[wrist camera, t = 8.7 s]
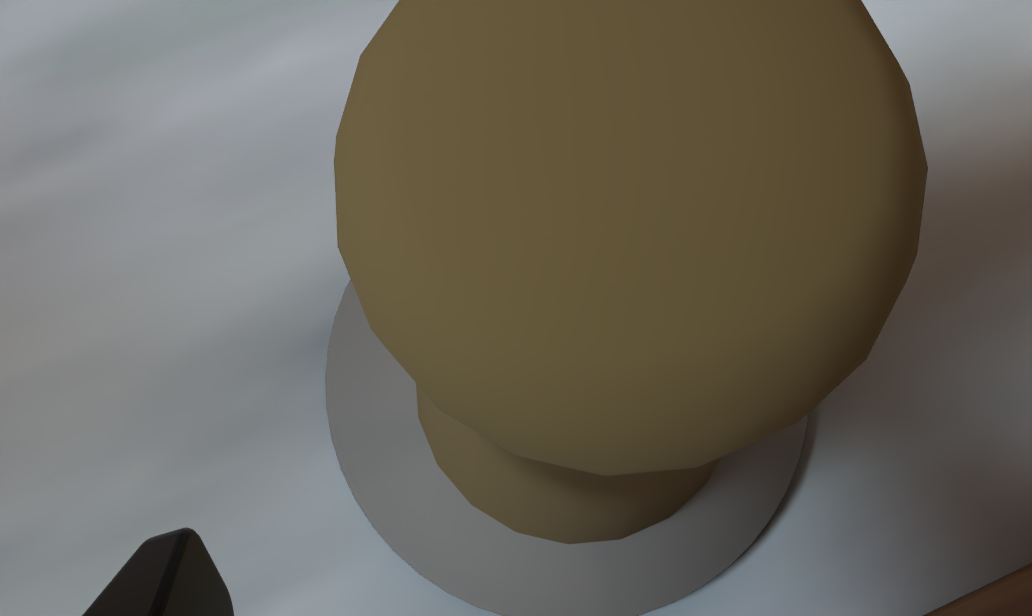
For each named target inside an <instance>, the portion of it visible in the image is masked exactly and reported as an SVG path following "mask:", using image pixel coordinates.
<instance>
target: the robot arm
mask: <svg viewBox="0 0 1032 616" xmlns="http://www.w3.org/2000/svg"><path fill="white" fill-rule="evenodd" d="M82 616H234V612H233V606H232V601H231V598H230V594H229V592H228V589H227V587H226V585H225V583H224V581H223V579H222V577H221V576H220V574H219V572H218V570H217V568H216V566H215V564H214V562H213V560H212V559H211V557H210V555H209V553H208V551H207V549H206V547H205V545H204V543H203V542H202V540H201V538H200V536H199V535H198V534H197V533H196V532H195V531H194V530H193V529H190V528H187V527H186V528H181V529H178V530H175V531H171V532H168V533H165V534H161V535H158V536H155V537H152V538H149V539H147V540H146V541H145V542H144V543H143V544H142V545H141V546H140V547H139V548H138V549H137V550H136V552H135V553H134V554H133V555H132V556H131V558H130V559H129V560H128V561H127V563H126V564H125V565H124V566H123V567H122V569H121V570H120V571H119V572H118V573H117V575H116V576H115V577H114V578H113V579H112V581H111V582H110V583H109V584H108V585H107V587H106V588H105V589H104V590H103V591H102V593H101V594H100V595H99V596H98V597H97V599H96V600H95V601H94V602H93V603H92V605H91V606H90V607H89V608H88V609H87V611H86V612H85V613H84V614H83V615H82Z"/></svg>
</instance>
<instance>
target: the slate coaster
mask: <svg viewBox="0 0 1032 616" xmlns="http://www.w3.org/2000/svg"><path fill="white" fill-rule="evenodd" d="M325 379H326V406H327V414H328V420H329V425H330V431H331V437H332V441H333V445H334V448H335V451H336V454H337V457H338V461H339V464H340V467H341V470H342V472H343V474H344V476H345V479H346V481H347V483H348V485H349V487H350V489H351V491H352V494H353V496H354V498H355V500H356V501H357V503H358V504H359V506H360V507H361V509H362V511H363V512H364V514H365V515H366V517H367V518H368V520H369V521H370V523H371V525H372V526H373V527H374V529H375V530H376V531H377V532H378V533H379V534H380V536H381V537H382V538H383V539H384V540H385V541H386V543H387V544H388V545H389V546H390V547H391V548H392V550H393V551H394V552H395V553H396V554H398V555H399V556H400V557H401V558H402V559H403V560H404V561H405V562H407V563H408V564H409V565H410V566H411V567H412V568H413V569H414V570H416V571H417V572H418V573H419V574H420V575H422V576H423V577H425V578H426V579H428V580H429V581H431V582H432V583H434V584H435V585H437V586H438V587H440V588H441V589H443V590H444V591H446V592H447V593H449V594H451V595H453V596H456V597H458V598H460V599H462V600H464V601H466V602H468V603H470V604H472V605H474V606H476V607H479V608H482V609H485V610H488V611H491V612H494V613H497V614H500V615H503V616H638V615H642V614H645V613H647V612H650V611H652V610H655V609H658V608H660V607H663V606H665V605H668V604H671V603H673V602H675V601H677V600H679V599H680V598H682V597H684V596H686V595H688V594H689V593H691V592H693V591H695V590H697V589H698V588H700V587H702V586H704V585H705V584H706V583H708V582H709V581H710V580H712V579H713V578H714V577H715V576H717V575H718V574H719V573H721V572H722V571H723V570H725V569H726V568H727V567H729V566H730V565H731V564H732V563H733V562H734V561H735V560H736V559H737V558H738V557H739V556H740V555H741V554H742V553H743V552H744V551H745V550H746V549H747V548H748V547H749V546H750V545H751V544H752V543H753V541H754V540H755V539H756V538H757V536H758V535H759V534H760V532H761V531H762V530H763V528H764V527H765V526H766V524H767V523H768V522H769V520H770V519H771V518H772V516H773V514H774V513H775V511H776V509H777V507H778V505H779V504H780V502H781V500H782V498H783V496H784V495H785V493H786V491H787V489H788V487H789V484H790V482H791V479H792V476H793V474H794V471H795V469H796V466H797V464H798V461H799V458H800V454H801V450H802V446H803V441H804V437H805V433H806V429H807V420H808V414H807V415H806V416H805V417H803V418H802V419H801V420H800V421H799V422H798V423H796V424H794V425H792V426H790V427H788V428H785V429H783V430H781V431H779V432H777V433H774V434H772V435H770V436H768V437H765V438H763V439H761V440H758V441H756V442H754V443H752V444H749V445H747V446H745V447H743V448H740V449H738V450H736V451H734V452H731V453H729V454H727V455H724V456H722V457H721V458H720V460H719V462H718V464H717V466H716V467H715V469H714V471H713V473H712V475H711V477H710V479H709V480H708V482H707V483H706V484H705V485H704V486H703V487H702V488H701V489H700V490H699V491H698V492H697V493H696V494H695V495H693V496H692V497H691V498H690V499H689V500H688V501H687V502H686V503H685V504H684V505H683V506H682V507H680V508H679V509H678V510H677V511H676V512H675V513H674V514H673V515H672V516H671V517H670V518H668V519H666V520H664V521H661V522H659V523H657V524H655V525H652V526H650V527H648V528H646V529H643V530H641V531H639V532H637V533H634V534H632V535H630V536H628V537H625V538H623V539H621V540H610V541H600V542H589V543H578V544H564V543H560V542H555V541H551V540H547V539H542V538H538V537H534V536H530V535H525V534H521V533H517V532H515V531H513V530H511V529H510V528H508V527H507V526H505V525H503V524H502V523H500V522H498V521H497V520H495V519H494V518H492V517H490V516H489V515H487V514H485V513H484V512H482V511H480V510H479V509H477V508H476V507H474V506H472V505H471V504H470V503H469V502H468V501H467V499H466V498H465V497H464V496H463V495H462V493H461V492H460V491H459V490H458V489H457V488H456V486H455V485H454V484H453V483H452V482H451V480H450V479H449V478H448V477H447V476H446V475H445V473H444V472H443V471H442V470H441V469H440V467H439V466H438V465H437V463H436V460H435V458H434V455H433V453H432V450H431V448H430V445H429V443H428V440H427V438H426V436H425V433H424V431H423V428H422V426H421V423H420V421H419V418H418V407H417V391H416V382H415V381H414V380H413V379H412V378H411V376H410V375H409V374H408V373H407V372H406V371H405V369H404V368H403V367H402V366H401V365H400V364H399V362H398V361H397V360H396V359H395V358H394V357H393V355H392V354H391V353H390V352H389V351H388V350H387V348H386V347H385V346H384V345H383V344H382V343H381V341H380V340H379V339H378V337H377V336H376V335H375V334H374V332H373V331H372V330H371V328H370V326H369V323H368V321H367V318H366V316H365V313H364V311H363V308H362V306H361V303H360V301H359V298H358V296H357V293H356V291H355V288H354V286H353V283H352V281H351V280H350V282H349V283H348V285H347V287H346V289H345V292H344V295H343V297H342V300H341V303H340V305H339V308H338V311H337V313H336V316H335V320H334V324H333V329H332V333H331V337H330V342H329V346H328V356H327V366H326V377H325Z"/></svg>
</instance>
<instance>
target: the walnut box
mask: <svg viewBox="0 0 1032 616" xmlns="http://www.w3.org/2000/svg"><path fill="white" fill-rule="evenodd" d="M924 616H1032V564H1030V565H1027V566H1025V567H1023V568H1021V569H1019V570H1017V571H1015V572H1013V573H1011V574H1009V575H1007V576H1005V577H1003V578H1001V579H998V580H996V581H994V582H992V583H990V584H988V585H986V586H984V587H982V588H980V589H978V590H976V591H974V592H971V593H969V594H967V595H965V596H963V597H961V598H959V599H957V600H955V601H953V602H951V603H949V604H947V605H945V606H942V607H940V608H938V609H936V610H934V611H932V612H930V613H928V614H926V615H924Z"/></svg>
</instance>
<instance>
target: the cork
mask: <svg viewBox="0 0 1032 616" xmlns="http://www.w3.org/2000/svg"><path fill="white" fill-rule="evenodd" d="M334 169H335V192H336V215H337V238H338V248H339V250H340V253H341V255H342V258H343V260H344V263H345V265H346V268H347V271H348V273H349V276H350V278H351V281H352V283H353V286H354V288H355V291H356V293H357V296H358V298H359V301H360V303H361V306H362V308H363V311H364V313H365V316H366V318H367V321H368V323H369V326H370V328H371V330H372V331H373V332H374V334H375V335H376V336H377V337H378V339H379V340H380V341H381V343H382V344H383V345H384V346H385V347H386V348H387V350H388V351H389V352H390V353H391V354H392V355H393V357H394V358H395V359H396V360H397V361H398V362H399V364H400V365H401V366H402V367H403V368H404V369H405V371H406V372H407V373H408V374H409V375H410V376H411V378H412V379H413V380H414V381H415V382H416V391H417V407H418V418H419V421H420V423H421V426H422V428H423V431H424V433H425V436H426V438H427V440H428V443H429V445H430V448H431V450H432V453H433V455H434V458H435V460H436V463H437V465H438V466H439V467H440V469H441V470H442V471H443V472H444V473H445V475H446V476H447V477H448V478H449V479H450V480H451V482H452V483H453V484H454V485H455V486H456V488H457V489H458V490H459V491H460V492H461V493H462V495H463V496H464V497H465V498H466V499H467V501H468V502H469V503H470V504H471V505H472V506H474V507H476V508H477V509H479V510H480V511H482V512H484V513H485V514H487V515H489V516H490V517H492V518H494V519H495V520H497V521H498V522H500V523H502V524H503V525H505V526H507V527H508V528H510V529H511V530H513V531H515V532H517V533H521V534H525V535H530V536H534V537H538V538H542V539H547V540H551V541H555V542H560V543H564V544H578V543H589V542H600V541H610V540H621V539H623V538H625V537H628V536H630V535H632V534H634V533H637V532H639V531H641V530H643V529H646V528H648V527H650V526H652V525H655V524H657V523H659V522H661V521H664V520H666V519H668V518H670V517H671V516H672V515H673V514H674V513H675V512H676V511H677V510H678V509H679V508H680V507H682V506H683V505H684V504H685V503H686V502H687V501H688V500H689V499H690V498H691V497H692V496H693V495H695V494H696V493H697V492H698V491H699V490H700V489H701V488H702V487H703V486H704V485H705V484H706V483H707V482H708V480H709V479H710V477H711V475H712V473H713V471H714V469H715V467H716V466H717V464H718V462H719V460H720V458H721V457H722V456H724V455H727V454H729V453H731V452H734V451H736V450H738V449H740V448H743V447H745V446H747V445H749V444H752V443H754V442H756V441H758V440H761V439H763V438H765V437H768V436H770V435H772V434H774V433H777V432H779V431H781V430H783V429H785V428H788V427H790V426H792V425H794V424H796V423H798V422H799V421H800V420H801V419H802V418H803V417H805V416H806V415H807V414H808V413H809V412H810V411H811V410H812V409H813V408H814V407H815V406H816V405H817V404H819V403H820V402H821V401H822V400H823V399H824V398H825V397H826V396H827V395H828V394H829V393H830V392H831V391H832V390H834V389H835V388H836V387H837V386H838V385H839V384H840V383H841V382H842V381H843V380H844V379H845V378H846V377H847V376H849V375H850V374H851V373H852V372H853V371H854V370H855V369H856V368H857V367H858V366H859V365H860V364H861V363H863V362H864V361H865V360H866V358H867V356H868V354H869V352H870V350H871V349H872V347H873V345H874V343H875V341H876V339H877V337H878V335H879V333H880V331H881V329H882V327H883V325H884V323H885V321H886V319H887V317H888V316H889V314H890V312H891V310H892V308H893V306H894V304H895V302H896V300H897V298H898V296H899V294H900V292H901V290H902V288H903V286H904V284H905V283H906V281H907V278H908V276H909V273H910V271H911V268H912V265H913V263H914V260H915V258H916V255H917V249H918V241H919V233H920V225H921V217H922V209H923V201H924V193H925V186H926V178H927V170H928V167H927V162H926V157H925V153H924V148H923V144H922V139H921V135H920V130H919V125H918V121H917V116H916V112H915V107H914V103H913V98H912V93H911V89H910V84H909V82H908V80H907V78H906V76H905V74H904V72H903V70H902V69H901V67H900V65H899V63H898V61H897V59H896V58H895V56H894V54H893V53H892V51H891V49H890V48H889V46H888V44H887V43H886V41H885V39H884V38H883V36H882V34H881V33H880V31H879V29H878V28H877V26H876V24H875V23H874V21H873V19H872V18H871V16H870V14H869V13H868V11H867V9H866V8H865V6H864V4H863V2H862V1H861V0H399V2H398V3H397V4H396V6H395V7H394V9H393V10H392V12H391V13H390V14H389V16H388V17H387V19H386V20H385V21H384V23H383V24H382V26H381V27H380V29H379V30H378V31H377V33H376V34H375V36H374V37H373V38H372V40H371V41H370V43H369V44H368V46H367V47H366V48H365V50H364V51H363V53H362V54H361V55H360V59H359V62H358V65H357V69H356V72H355V75H354V79H353V82H352V85H351V89H350V92H349V95H348V99H347V102H346V105H345V109H344V112H343V115H342V119H341V122H340V125H339V129H338V132H337V135H336V146H335V157H334Z"/></svg>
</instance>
